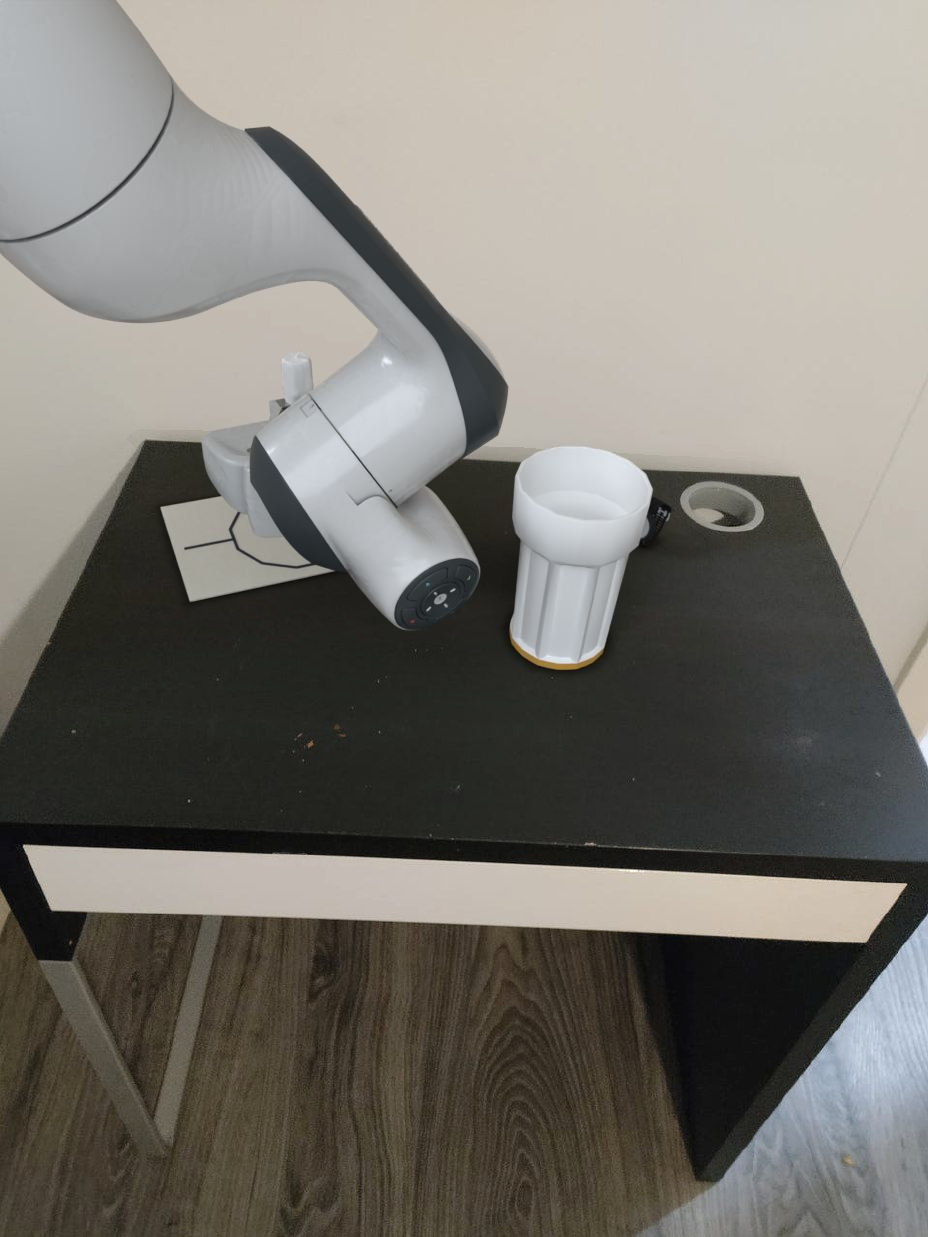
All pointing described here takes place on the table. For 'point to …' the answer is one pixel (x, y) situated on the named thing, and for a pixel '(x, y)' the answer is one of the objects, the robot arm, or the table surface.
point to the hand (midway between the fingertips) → (296, 402)
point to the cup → (573, 550)
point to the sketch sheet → (228, 551)
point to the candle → (296, 376)
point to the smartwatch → (651, 523)
